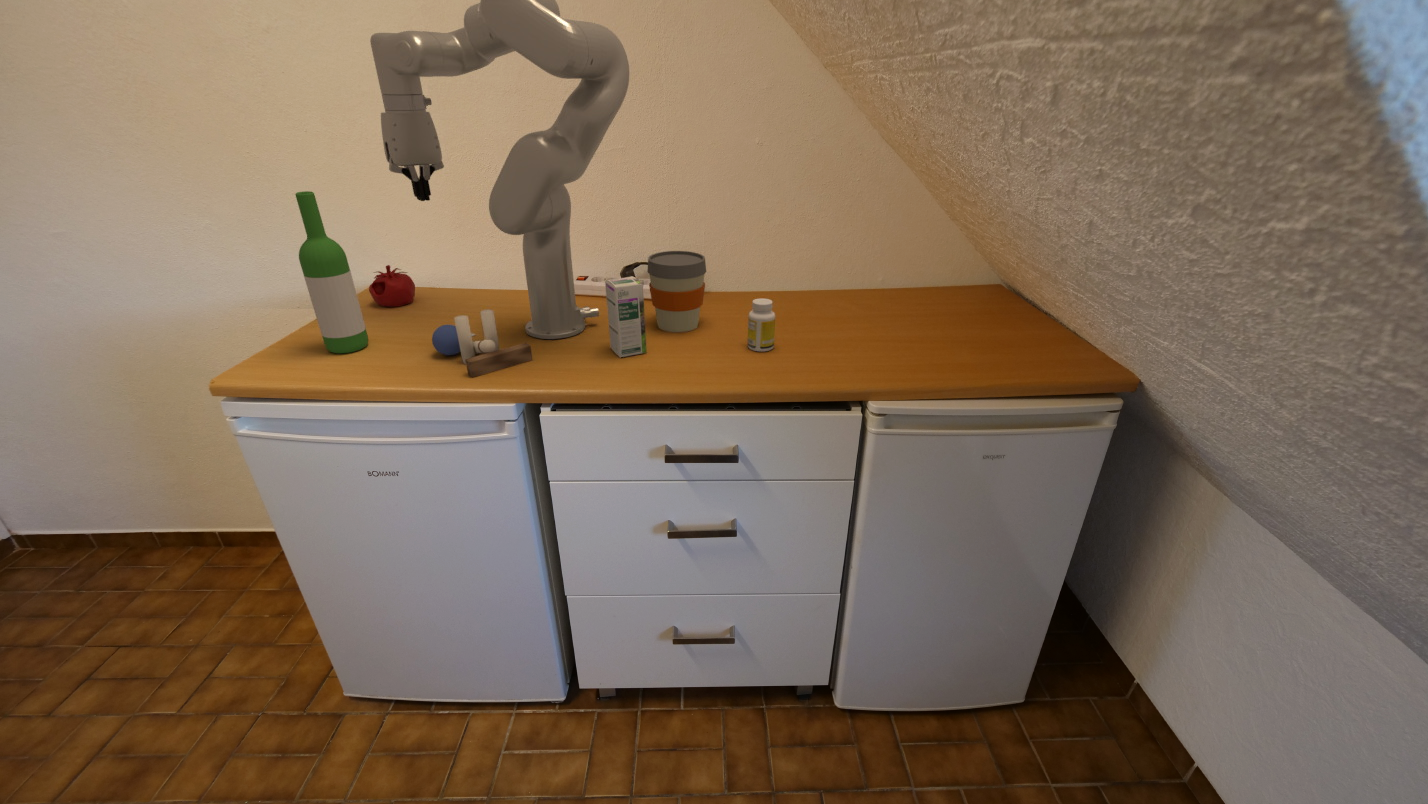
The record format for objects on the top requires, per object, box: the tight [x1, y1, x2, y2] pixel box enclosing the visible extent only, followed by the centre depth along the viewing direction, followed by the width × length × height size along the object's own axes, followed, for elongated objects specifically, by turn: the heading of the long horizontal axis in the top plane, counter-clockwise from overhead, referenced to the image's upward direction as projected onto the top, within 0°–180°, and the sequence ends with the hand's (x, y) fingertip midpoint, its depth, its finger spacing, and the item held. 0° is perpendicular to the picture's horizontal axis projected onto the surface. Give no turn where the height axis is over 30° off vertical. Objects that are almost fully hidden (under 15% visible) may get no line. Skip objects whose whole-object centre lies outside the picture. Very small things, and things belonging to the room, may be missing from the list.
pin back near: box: [479, 308, 501, 353], centre depth 121 cm, size 2×2×9 cm
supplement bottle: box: [747, 298, 776, 353], centre depth 126 cm, size 5×5×10 cm
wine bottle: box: [294, 190, 369, 354], centre depth 119 cm, size 8×8×30 cm
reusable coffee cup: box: [647, 250, 707, 333], centre depth 135 cm, size 12×13×15 cm
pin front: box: [472, 339, 496, 355], centre depth 120 cm, size 2×2×9 cm
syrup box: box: [604, 276, 647, 359], centre depth 122 cm, size 6×6×14 cm
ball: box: [431, 324, 461, 356], centre depth 122 cm, size 6×6×6 cm
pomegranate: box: [368, 264, 416, 308], centre depth 148 cm, size 10×10×9 cm
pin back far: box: [453, 314, 476, 365], centre depth 118 cm, size 2×2×9 cm
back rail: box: [465, 342, 534, 379], centre depth 118 cm, size 12×2×3 cm, turn 132°
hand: (423, 199), depth 133 cm, fingers closed
